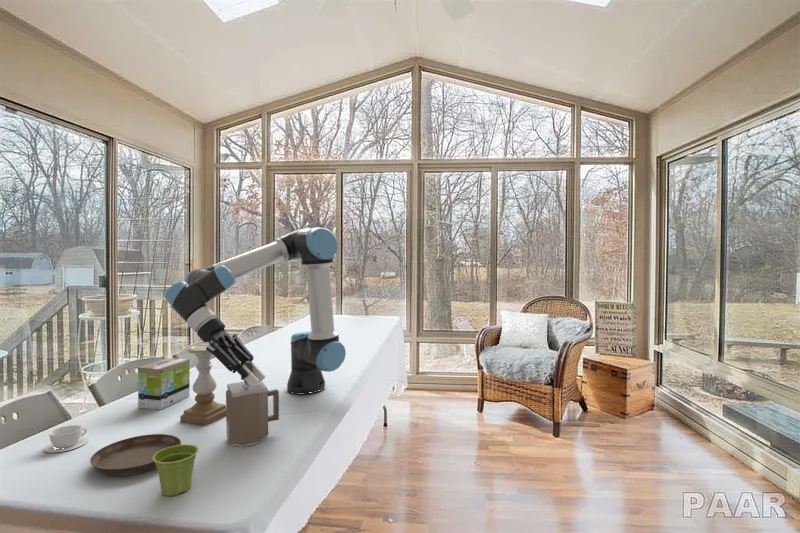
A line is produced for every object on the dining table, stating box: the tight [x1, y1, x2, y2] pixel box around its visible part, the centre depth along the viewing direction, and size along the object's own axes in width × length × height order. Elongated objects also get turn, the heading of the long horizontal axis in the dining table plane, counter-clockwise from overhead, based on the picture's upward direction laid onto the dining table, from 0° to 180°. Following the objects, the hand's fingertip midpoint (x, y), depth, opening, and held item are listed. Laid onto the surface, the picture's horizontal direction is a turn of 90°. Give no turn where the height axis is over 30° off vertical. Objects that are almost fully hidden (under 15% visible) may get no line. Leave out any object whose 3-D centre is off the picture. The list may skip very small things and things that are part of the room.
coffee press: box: [225, 380, 280, 447], centre depth 129 cm, size 15×11×16 cm
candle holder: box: [179, 343, 226, 426], centre depth 144 cm, size 11×11×24 cm
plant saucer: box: [89, 433, 182, 477], centre depth 115 cm, size 21×21×3 cm
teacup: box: [43, 424, 89, 453], centre depth 124 cm, size 10×10×5 cm
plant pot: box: [153, 443, 199, 497], centre depth 101 cm, size 9×9×9 cm
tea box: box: [137, 357, 191, 411], centre depth 159 cm, size 15×10×15 cm, turn 168°
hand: (258, 382), depth 127 cm, fingers open, 3 cm apart
